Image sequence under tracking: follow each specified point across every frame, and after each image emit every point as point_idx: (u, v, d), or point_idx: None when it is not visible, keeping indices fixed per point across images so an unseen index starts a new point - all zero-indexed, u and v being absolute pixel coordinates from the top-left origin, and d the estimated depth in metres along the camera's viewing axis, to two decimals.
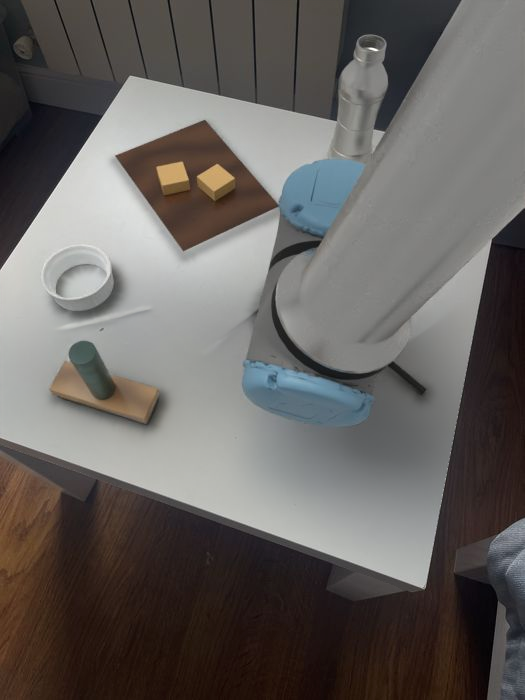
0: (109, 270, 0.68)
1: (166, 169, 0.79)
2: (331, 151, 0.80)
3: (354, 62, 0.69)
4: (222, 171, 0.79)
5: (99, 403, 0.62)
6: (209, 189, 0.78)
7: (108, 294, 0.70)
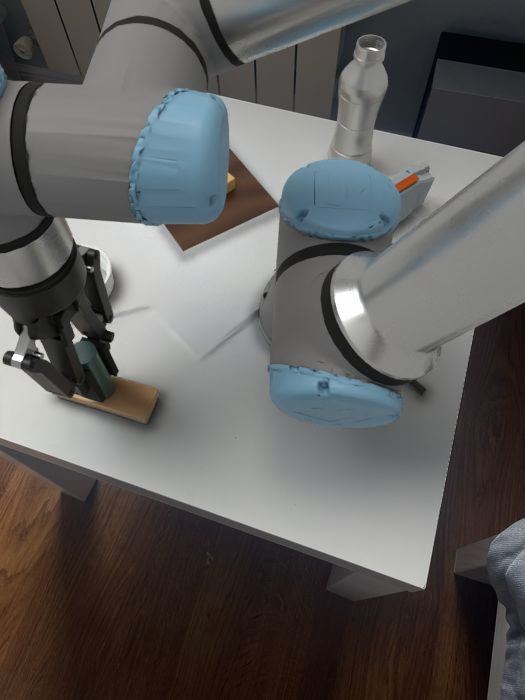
0: (109, 270, 0.68)
1: None
2: (331, 151, 0.80)
3: (354, 62, 0.69)
4: None
5: (99, 403, 0.62)
6: None
7: (108, 294, 0.70)
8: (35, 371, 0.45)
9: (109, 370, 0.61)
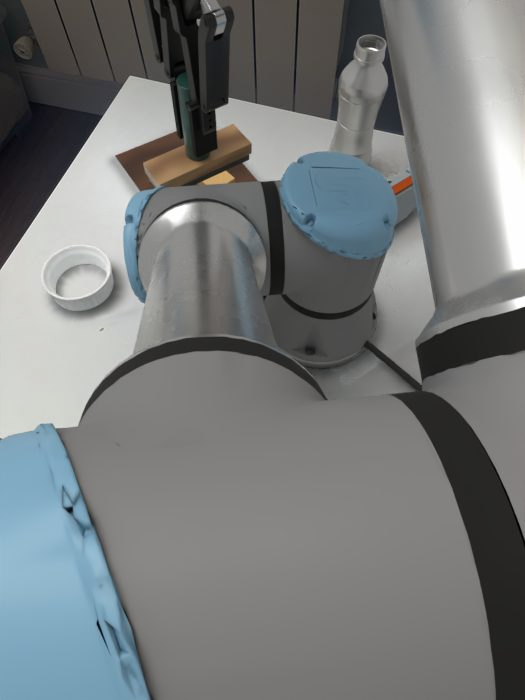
0: (109, 270, 0.68)
1: None
2: (331, 151, 0.80)
3: (354, 62, 0.69)
4: None
5: (209, 161, 0.60)
6: None
7: (108, 294, 0.70)
8: (231, 24, 0.44)
9: None
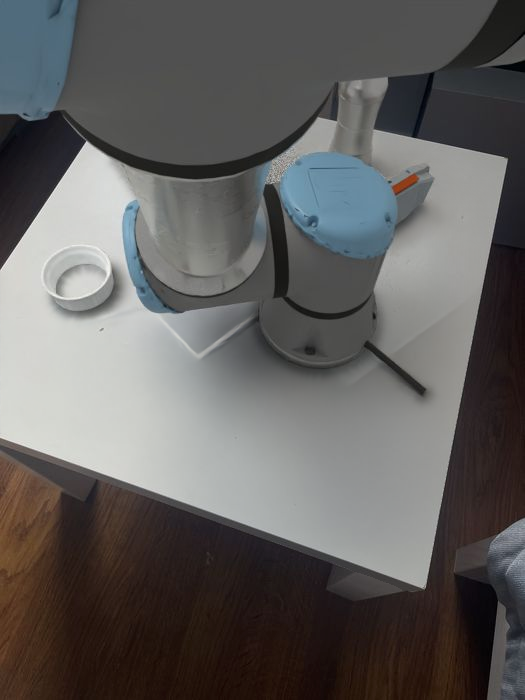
0: (109, 270, 0.68)
1: None
2: (331, 151, 0.80)
3: None
4: None
5: None
6: None
7: (108, 294, 0.70)
8: None
9: None
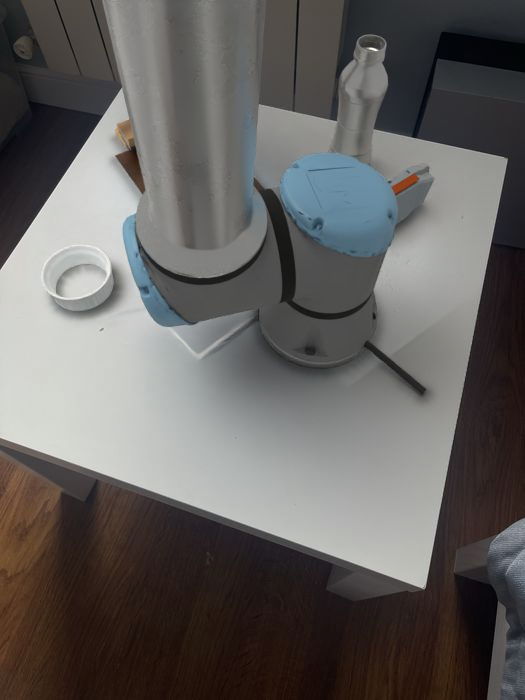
0: (109, 270, 0.68)
1: None
2: (331, 151, 0.80)
3: (354, 62, 0.69)
4: None
5: None
6: None
7: (108, 294, 0.70)
8: None
9: None
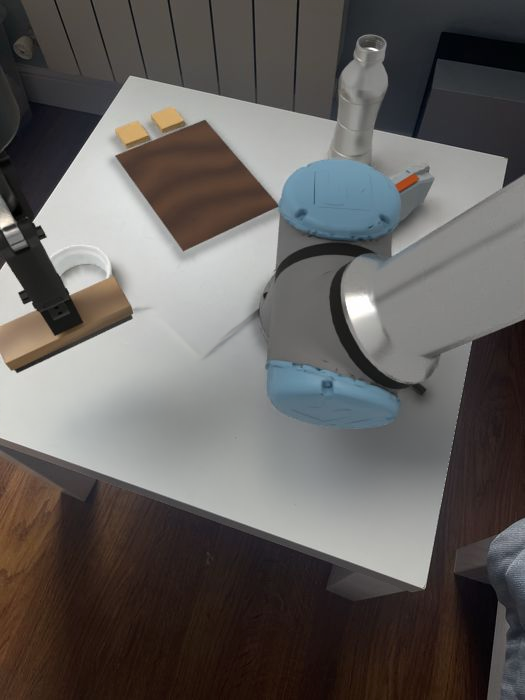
0: (109, 270, 0.68)
1: (124, 129, 0.84)
2: (331, 151, 0.80)
3: (354, 62, 0.69)
4: (174, 113, 0.86)
5: (73, 330, 0.49)
6: (159, 127, 0.85)
7: None
8: (38, 237, 0.33)
9: None
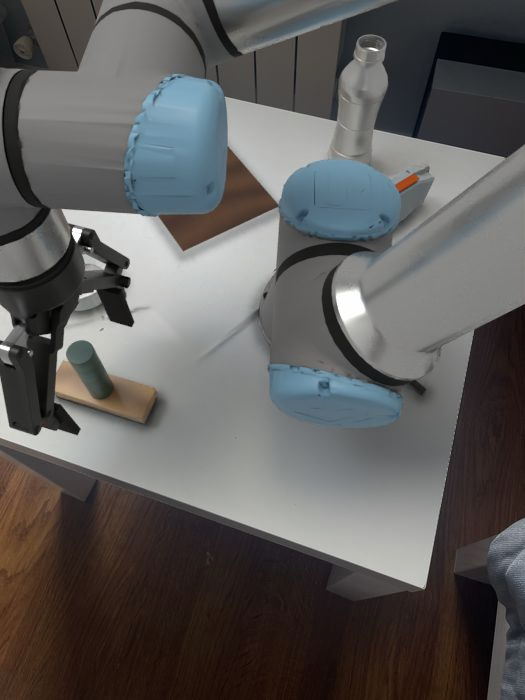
0: None
1: None
2: (331, 151, 0.80)
3: (354, 62, 0.69)
4: None
5: (97, 403, 0.62)
6: None
7: None
8: (20, 363, 0.42)
9: (125, 320, 0.60)
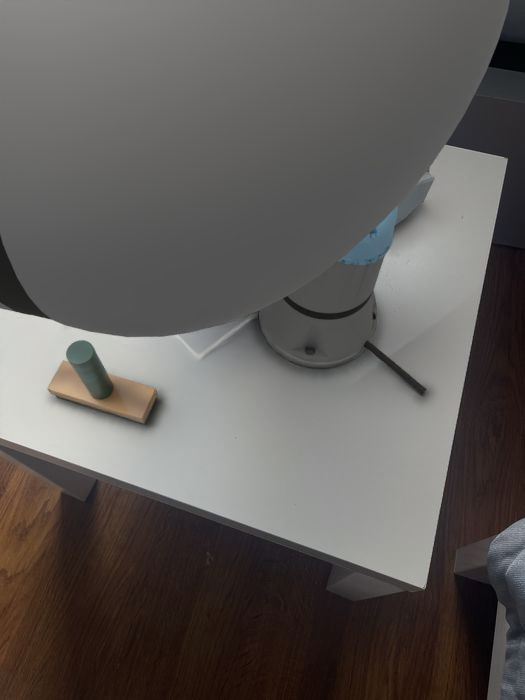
0: None
1: None
2: None
3: None
4: None
5: (97, 403, 0.62)
6: None
7: None
8: None
9: None
